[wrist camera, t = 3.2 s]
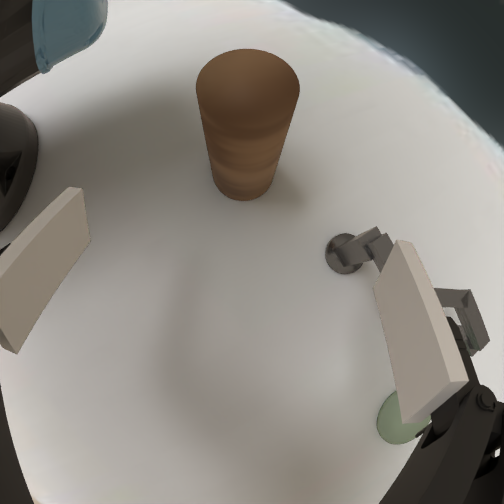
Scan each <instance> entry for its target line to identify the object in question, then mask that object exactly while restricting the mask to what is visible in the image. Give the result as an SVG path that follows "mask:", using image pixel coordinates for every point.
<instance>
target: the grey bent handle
mask: <svg viewBox="0 0 504 504" xmlns="http://www.w3.org/2000/svg"><path fill="white" fill-rule="evenodd" d="M393 246H394V245H393V243H392V241H391V240H390V238H389V236H388V234H387V233H385V234H381V233H380V231H379V229H378V228H377V226H376V227H374V228H372V229H370V230H368V231H366V232H364V233H362V234H360V235H358V236H356V237H355V236H354V235H351V234H347V233H344V234H339V235H337V236H335V237H334V238H332V239H331V240H330V241H329V243H328V244H327V247H326V251H325V256H326V260H327V263H328V265H329V266H330V267H331V268H332V269H333V270H334V271H335V272H337V273H340V274H349V273H353V272H355V271H357V270H358V269H359V268H360V267H361V265H362V264H363V262H367V261H371V260H372V259H373V260H374V262H375V264H376V266H377V267H378V269H379V271H380V273H381V271H382V269H383V267H384V265H385V263H386V261H387V259H388V257H389V255H390V253H391V251H392V249H393ZM434 290H435V292H436V295H437V297H438V299H439V302H440V304H441V306H442V307H454V308H455V311H456V313H457V315H458V318H459V320H460V322H461V325H462V326H460V325H457V326H458V327H459V329H460V332H461V334H462V337H463V341H464V342H465V344H466V347H467V351H468V352H469V355H470V356H471V357H472V356H473V355H474V354H475V353H476V352H477V351H478V350H479V351H481V350H482V349H483V348H484V347H485V346H486V344H487V343H488V342H489V341H490V339H489V336H488V333H487V331H486V328H485V325H484V322H483V320H482V317H481V314H480V312H479V309H478V307H477V304H476V302H475V299H474V297H473V294H472V292H471V290H470V289H468V290H455V289H441V288H434Z"/></svg>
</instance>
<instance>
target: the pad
mask: <svg viewBox="0 0 504 504" xmlns="http://www.w3.org/2000/svg"><path fill="white" fill-rule="evenodd" d="M430 419H431V415H429V416H428V417H427V418H425V419H424V420H423V421H422V422H420V423H407V424H402V418H401V412H400V406H399V400H398V395H397V390H396V391H395V392H394V393H393V394H391V395H390V396H389V397H388V398H387V400H386V401H385V402H384V404H383V405H382V407H381V409H380V412H379V414H378V419H377V429H378V432H379V434H380V436H381V437H382V438H383V439H384V440H385V441H387V442H388V443H391V444H404V443H407V442H409V441H411V440H413V439H414V438H416V437H415V435H416V434H417V433H418V432H419V431H420V430H422V429H423V428H425V427H426V426H427V425H428V423H429V422H430Z"/></svg>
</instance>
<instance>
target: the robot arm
mask: <svg viewBox="0 0 504 504" xmlns="http://www.w3.org/2000/svg"><path fill="white" fill-rule="evenodd" d="M107 13H108V1H107V0H0V97H1V96H3V95H5V94H6V93H8V92H9V91H11V90H12V89H14V88H16V87H17V86H19V85H20V84H22V83H24V82H26V81H27V80H29V79H31V78H32V77H34V76H36V75H38V74H40V73H42V74H45V73H47V72H49V71H50V70H51V69H52V68H53V66H54V65H56V64H58V63H59V62H61V61H63V60H65V59H67V58H69V57H70V56H72V55H74V54H76V53H78V52H80V51H82V50H84V49H86V48H88V47H89V46H91V45H92V44H93V43H94V42H96V40H97V39H98V38H99V37H100V35H101V34H102V32H103V30H104V28H105V25H106V21H107ZM37 154H38V139H37V133H36V129H35V127H34V125H33V123H32V121H31V120H30V119H29V118H28V117H27V116H26V115H25V114H24V113H23V112H22V111H20V110H19V109H18V108H16V107H14V106H12V105H9V104H4V103H1V102H0V231H1V230H2V229H3V228H4V227H5V226H6V225H7V224H8V223H9V222H10V220H11V219H12V218H13V216H14V215H15V213H16V212H17V210H18V209H19V207H20V205H21V203H22V202H23V200H24V197H25V195H26V193H27V191H28V188H29V186H30V183H31V180H32V177H33V174H34V170H35V166H36V161H37ZM90 242H91V239H90V234H89V228H88V222H87V216H86V209H85V202H84V195H83V188H75V187H68V188H67V189H66V190H64V191H63V192H62V193H61V194H60V195H59V196H58V197H57V198H56V199H55V200H54V201H53V202H52V203H50V204H49V205H48V206H47V207H46V208H45V209H44V210H43V211H42V212H41V213H40V214H39V215H38V216H37V217H36V218H35V219H34V220H33V221H32V222H31V223H30V224H29V225H28V226H27V227H26V228H25V229H24V230H23V231H22V232H21V234H20V235H19V236H18V237H17V238H16V239H15V240H14V241H13V242H12V243H9V244H8V245H6V246H5V247H4V248H2V249H1V250H0V344H1V346H2V347H3V348H4V349H6V350H8V351H11V352H13V353H15V354H18V352H19V351H20V349H21V347H22V345H23V343H24V342H25V340H26V338H27V336H28V335H29V333H30V331H31V330H32V328H33V326H34V325H35V323H36V321H37V320H38V318H39V316H40V315H41V313H42V311H43V310H44V308H45V307H46V305H47V304H48V302H49V300H50V299H51V297H52V296H53V294H54V293H55V291H56V290H57V288H58V287H59V285H60V284H61V282H62V281H63V279H64V278H65V276H66V275H67V274H68V272H69V271H70V269H71V268H72V266H73V265H74V264H75V262H76V261H77V259H78V258H79V257H80V255H81V254H82V252H83V251H84V250H85V248H86V247H87V246H88V244H89V243H90ZM373 291H374V295H375V298H376V302H377V306H378V309H379V313H380V317H381V321H382V325H383V329H384V333H385V338H386V342H387V346H388V351H389V355H390V360H391V364H392V369H393V374H394V379H395V384H396V389H397V395H398V400H399V406H400V412H401V418H402V424H407V423H420V422H422V421H423V420H424V419H425V418H427V417H428V416H429V415H431V420H432V422H431V423H430V424H429V425H427V426H426V427H425V428H423V429H422V430H420V431H419V432H418V433H417V434H416V435H415V437H419V436H420V435H421V434H423V435H422V437H421V439H420V440H419V442H418V444H417V446H416V447H415V449H414V451H413V453H412V454H411V456H410V458H409V459H408V461H407V463H406V464H405V466H404V467H403V469H402V471H401V472H400V474H399V475H398V477H397V478H396V480H395V481H394V483H393V484H392V486H391V487H390V489H389V490H388V491H387V493H386V494H385V496H384V497H383V499H382V500H381V501H380V503H379V504H504V403H502V402H499V401H497V400H496V397H495V395H494V393H493V392H492V391H491V390H490V389H489V388H488V387H486V386H484V385H480V384H479V381H478V378H477V375H476V372H475V369H474V366H473V363H472V360H471V358H470V355H469V352H468V351H467V347H466V344H465V342H464V341H463V337H462V334H461V332H460V329H459V327H458V326H457V324H456V323H455V322H454V321H453V319H452V318H451V317H446V316H445V313H444V311H443V309H442V306H441V304H440V302H439V299H438V297H437V295H436V292H435V290H434V288H433V286H432V284H431V281H430V279H429V277H428V275H427V273H426V271H425V269H424V266H423V264H422V262H421V260H420V258H419V256H418V254H417V252H416V250H415V248H414V246H413V244H412V243H410V242H405V241H400V240H396V242H395V244H394V246H393V249H392V251H391V253H390V255H389V257H388V259H387V261H386V263H385V265H384V267H383V269H382V271H381V273H380V275H379V277H378V279H377V281H376V283H375V285H374V287H373ZM499 448H500V455H499V456H497V457H495V451H496V450H498V449H499ZM0 504H34V502H33V500H32V497H31V495H30V492H29V490H28V487H27V484H26V482H25V479H24V476H23V473H22V470H21V467H20V464H19V461H18V458H17V455H16V451H15V448H14V444H13V441H12V437H11V433H10V429H9V425H8V421H7V417H6V412H5V407H4V402H3V397H2V391H1V385H0Z"/></svg>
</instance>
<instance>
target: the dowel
mask: <svg viewBox="0 0 504 504" xmlns="http://www.w3.org/2000/svg"><path fill="white" fill-rule="evenodd" d="M299 92H300V85H299V80H298V78H297V75H296V74H295V72H294V70H293V69H292V68H291V67H290V66H289V65H288V64H287V63H286V62H285V61H284V60H282V59H281V58H279V57H278V56H276V55H273V54H271V53H268V52H265V51H261V50H256V49H238V50H233V51H228V52H225V53H223V54H221V55H218V56H217V57H215V58H213V59H212V60H211V61H209V62H208V63H207V64H206V65H205V66H204V67H203V69H202V70H201V72H200V73H199V75H198V78H197V82H196V93H197V98H198V104H199V109H200V114H201V119H202V124H203V129H204V134H205V140H206V145H207V150H208V155H209V160H210V164H211V169H212V174H213V179H214V182H215V184H216V186H217V188H218V189H219V190H220V191H221V192H222V193H223V194H224V195H225V196H227V197H229V198H231V199H234V200H239V201H248V200H252V199H255V198H257V197H259V196H261V195H262V194H264V193H265V192H266V191H267V190H268V188H269V187H270V185H271V183H272V180H273V177H274V174H275V171H276V167H277V164H278V161H279V158H280V155H281V152H282V148H283V145H284V142H285V139H286V136H287V132H288V129H289V126H290V123H291V120H292V116H293V113H294V110H295V107H296V104H297V100H298V97H299Z"/></svg>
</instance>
